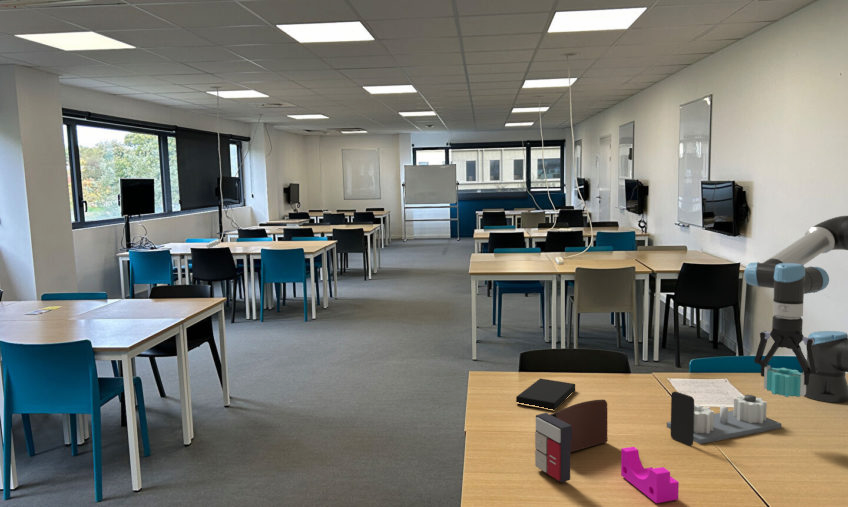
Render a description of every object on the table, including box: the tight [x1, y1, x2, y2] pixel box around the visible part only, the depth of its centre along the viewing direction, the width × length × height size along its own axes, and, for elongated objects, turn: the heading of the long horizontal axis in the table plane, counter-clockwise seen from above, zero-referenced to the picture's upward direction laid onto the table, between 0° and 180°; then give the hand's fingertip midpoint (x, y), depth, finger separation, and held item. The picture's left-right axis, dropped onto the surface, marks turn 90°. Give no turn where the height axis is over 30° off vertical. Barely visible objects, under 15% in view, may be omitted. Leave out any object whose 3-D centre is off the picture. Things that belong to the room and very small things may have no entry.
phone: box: [670, 391, 695, 447], centre depth 178 cm, size 7×1×15 cm, turn 31°
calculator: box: [534, 412, 572, 483], centre depth 161 cm, size 11×4×15 cm, turn 28°
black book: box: [515, 378, 576, 411], centre depth 220 cm, size 14×23×3 cm, turn 148°
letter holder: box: [550, 399, 609, 454], centre depth 180 cm, size 10×20×14 cm, turn 119°
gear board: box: [666, 394, 782, 445], centre depth 188 cm, size 32×14×9 cm, turn 109°
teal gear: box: [766, 367, 803, 398], centre depth 176 cm, size 9×9×6 cm
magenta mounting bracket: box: [620, 446, 680, 504], centre depth 153 cm, size 15×6×8 cm, turn 15°
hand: (784, 391), depth 176 cm, fingers closed on teal gear, 9 cm apart
